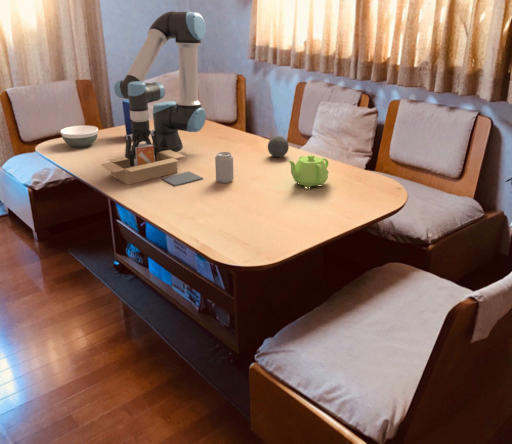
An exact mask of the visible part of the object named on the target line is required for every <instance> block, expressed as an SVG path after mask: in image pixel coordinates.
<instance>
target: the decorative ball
mask: <svg viewBox="0 0 512 444" xmlns="http://www.w3.org/2000/svg"><path fill="white" fill-rule="evenodd" d="M267 151H268V153H269V154H270V155H271V156H272V157H275V158H282V157H284V156H285V155H287V154H288V151H289V142H288V140H287V139H286V138H284V137H282V136H280V135H279V136H274V137H272V138H270V139H269V141H268V144H267Z"/></svg>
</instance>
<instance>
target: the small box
mask: <svg viewBox="0 0 512 444" xmlns="http://www.w3.org/2000/svg"><path fill="white" fill-rule="evenodd" d="M132 145H133V144H131V149H132ZM134 159H136V165H137V166H139V165H143V164H148V163H153V162H155V159H154V146H153V145H152V144H151V145H149V144H146V142H143V143H142V142H140V143H139V145H138V147H135V157H134Z"/></svg>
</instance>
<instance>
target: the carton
mask: <svg viewBox="0 0 512 444" xmlns="http://www.w3.org/2000/svg"><path fill="white" fill-rule="evenodd" d="M185 157H186V156H185V155H183V154H181V153H178V152H177V151H175V152H174V151H172V150H166V151H161V152H159V153H158V154H157V155H156V158H157V161H156V162H153V163H148V164H143V165H139V166H134V167H132V166H131V165H130V159H128V158H126V157H125V155H124V156H118V157H115V158H109V159H108V161H109V162H104V163H100V164H99V165H100V166H102V167H103V168H105V169H107V171H110V174H111V175H110V176H112V177H113V178H116V179H117V180H119V181H121V182H123V183H124V184H125V185H132V184H136V183H139V182H144V181H148V180H152V179H156V178H162V177H166V176H170V175H174V174H178V163H179V159H180V158H181V159H182V158H185Z"/></svg>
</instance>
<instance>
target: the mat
mask: <svg viewBox="0 0 512 444" xmlns="http://www.w3.org/2000/svg"><path fill="white" fill-rule="evenodd" d="M160 178H161V180H162V181H164V182H166V183H168V184H169V185H171V186H173V187H177V186H181V185H185V184H190V183H194V182H197V181H201V180H204V177H202V176H200V175H198V174H195V173H194V172H191V171H184V172H181V173H175V174H171V175H167V176H163V177H160Z"/></svg>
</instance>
